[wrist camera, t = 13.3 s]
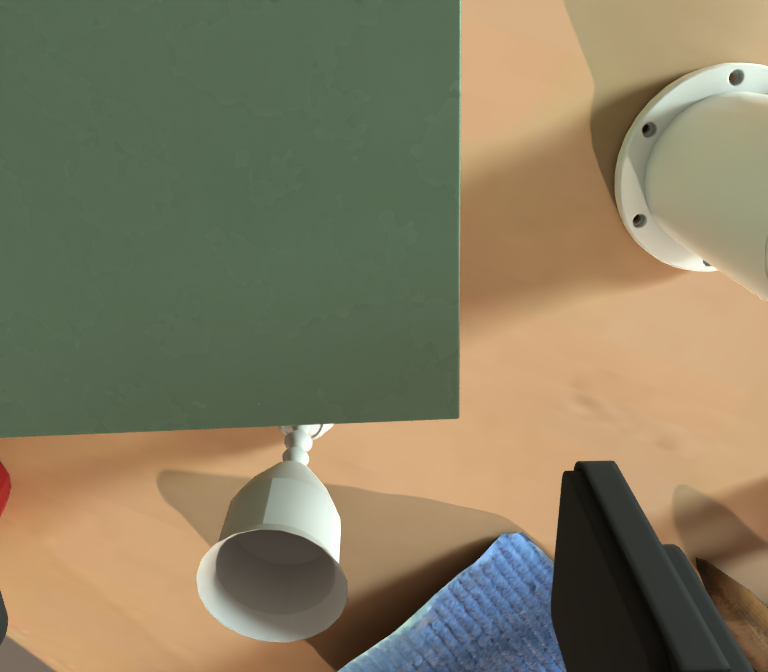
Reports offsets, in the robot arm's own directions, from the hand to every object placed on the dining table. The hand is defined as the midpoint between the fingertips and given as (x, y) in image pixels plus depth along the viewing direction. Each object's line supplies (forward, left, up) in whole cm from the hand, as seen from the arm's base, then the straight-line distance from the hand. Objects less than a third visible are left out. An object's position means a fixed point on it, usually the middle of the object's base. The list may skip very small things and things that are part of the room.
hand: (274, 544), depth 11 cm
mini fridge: (+5, -8, -36) cm, 37 cm away
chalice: (+12, +12, -36) cm, 40 cm away
